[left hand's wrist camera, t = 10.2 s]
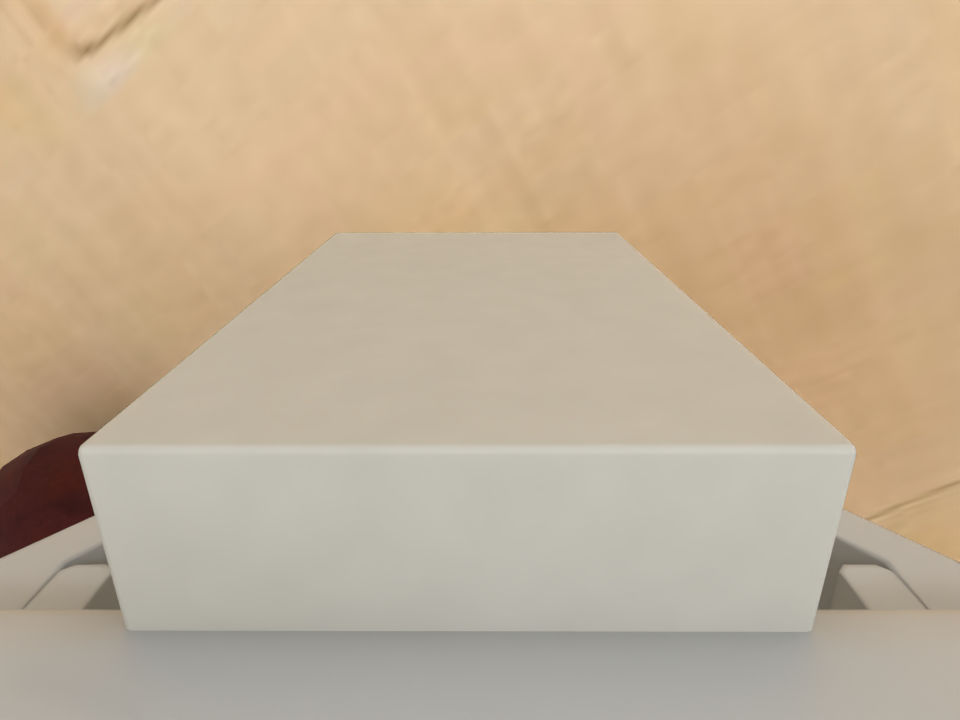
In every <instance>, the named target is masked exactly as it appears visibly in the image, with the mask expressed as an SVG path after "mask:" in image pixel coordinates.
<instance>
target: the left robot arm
mask: <svg viewBox="0 0 960 720" xmlns="http://www.w3.org/2000/svg"><path fill="white" fill-rule="evenodd" d="M0 720H960V563H959V562H957V561H955V560H953V559H951V558H949V557H946V556H944V555H942V554H940V553H938V552H935V551H933V550H931V549H929V548H927V547H925V546H922V545H920V544H918V543H916V542H914V541H912V540H909V539H907V538H905V537H903V536H901V535H899V534H896V533H894V532H892V531H890V530H888V529H886V528H883V527H881V526H879V525H877V524H875V523H873V522H870V521H868V520H866V519H864V518H862V517H859V516H857V515H855V514H853V513H851V512H849V511H846V510H844V509H842V513H841V517H840V521H839V525H838V529H837V533H836V537H835V541H834V545H833V549H832V553H831V556H830V560H829V564H828V568H827V572H826V576H825V580H824V584H823V588H822V592H821V596H820V600H819V604H818V608H817V612H816V616H815V620H814V624H813V628H812V631H809V632H578V631H131V630H128V629H126V627H125V623H124V619H123V616H122V612H121V608H120V605H119V601H118V597H117V594H116V590H115V587H114V583H113V579H112V576H111V572H110V568H109V565H108V561H107V558H106V554H105V550H104V547H103V543H102V539H101V536H100V532H99V529H98V525H97V521H96V518H95V516H93V517H90V518H88V519H86V520H84V521H82V522H79V523H77V524H75V525H73V526H71V527H68V528H66V529H64V530H62V531H60V532H57V533H55V534H53V535H51V536H49V537H46V538H44V539H42V540H40V541H38V542H35V543H33V544H31V545H29V546H27V547H24V548H22V549H20V550H18V551H16V552H13V553H11V554H9V555H7V556H5V557H2V558H0Z"/></svg>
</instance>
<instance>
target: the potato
mask: <svg viewBox="0 0 960 720" xmlns="http://www.w3.org/2000/svg"><path fill="white" fill-rule="evenodd" d="M95 433H96V432H87V433H73V434H69V435H66V436H62V437H59V438H56V439H53V440H51V441H49V442H46V443H44V444H41V445H39V446H37V447H34V448H32V449H29V450H27V451H25V452H24V453H22V454H21V455H19V456H18V457H16V458H15V459H13V460H12V461H10V462H9V463H8V464H6V465H5V466H3V467H2V468H1V470H0V558H2V557H5V556H7V555H9V554H11V553H13V552H16V551H18V550H20V549H22V548H24V547H27V546H29V545H31V544H33V543H35V542H38V541H40V540H42V539H44V538H46V537H49V536H51V535H53V534H55V533H57V532H60V531H62V530H64V529H66V528H68V527H71V526H73V525H75V524H77V523H79V522H82V521H84V520H86V519H88V518H90V517H93V516H95V514H94V510H93V507H92V503H91V500H90V496H89V492H88V489H87V485H86V481H85V478H84V474H83V471H82V467H81V463H80V460H79V456H78V452H79V448H80V446H81V445H82V444H83V443H84V442H85V441H87V440H88V439H89V438H90V437H91V436H93V435H94V434H95Z"/></svg>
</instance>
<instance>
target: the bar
mask: <svg viewBox="0 0 960 720" xmlns="http://www.w3.org/2000/svg"><path fill="white" fill-rule="evenodd" d="M78 456H79V460H80V463H81V467H82V471H83V474H84V478H85V481H86V485H87V489H88V492H89V496H90V500H91V503H92V507H93V510H94V514H95V518H96V521H97V525H98V529H99V532H100V536H101V539H102V543H103V547H104V550H105V554H106V558H107V561H108V565H109V568H110V572H111V576H112V579H113V583H114V587H115V590H116V594H117V597H118V601H119V605H120V608H121V612H122V616H123V619H124V623H125V627H126V629H128V630H131V631H578V632H809V631H812V628H813V624H814V620H815V616H816V612H817V608H818V604H819V600H820V596H821V592H822V588H823V584H824V580H825V576H826V572H827V568H828V564H829V560H830V556H831V553H832V549H833V545H834V541H835V537H836V533H837V529H838V525H839V521H840V517H841V513H842V509H843V505H844V501H845V497H846V493H847V489H848V485H849V481H850V477H851V473H852V469H853V465H854V461H855V457H856V449H855V446H854V445H853V444H852V443H851V442H850V441H849V440H848V439H847V438H846V437H844V436H843V435H842V434H841V433H840V432H839V431H838V430H837V429H835V428H834V427H833V426H832V425H831V424H830V423H829V422H828V421H827V420H825V419H824V418H823V417H822V416H821V415H820V414H819V413H818V412H817V411H815V410H814V409H813V408H812V407H811V406H810V405H809V404H808V403H807V402H805V401H804V400H803V399H802V398H801V397H800V396H799V395H798V394H796V393H795V392H794V391H793V390H792V389H791V388H790V387H789V386H788V385H786V384H785V383H784V382H783V381H782V380H781V379H780V378H779V377H778V376H776V375H775V374H774V373H773V372H772V371H771V370H770V369H769V368H767V367H766V366H765V365H764V364H763V363H762V362H761V361H760V360H759V359H757V358H756V357H755V356H754V355H753V354H752V353H751V352H750V351H749V350H747V349H746V348H745V347H744V346H743V345H742V344H741V343H740V342H738V341H737V340H736V339H735V338H734V337H733V336H732V335H731V334H730V333H728V332H727V331H726V330H725V329H724V328H723V327H722V326H721V325H720V324H718V323H717V322H716V321H715V320H714V319H713V318H712V317H711V316H710V315H708V314H707V313H706V312H705V311H704V310H703V309H702V308H701V307H699V306H698V305H697V304H696V303H695V302H694V301H693V300H692V299H691V298H689V297H688V296H687V295H686V294H685V293H684V292H683V291H682V290H681V289H679V288H678V287H677V286H676V285H675V284H674V283H673V282H672V281H670V280H669V279H668V278H667V277H666V276H665V275H664V274H663V273H662V272H660V271H659V270H658V269H657V268H656V267H655V266H654V265H653V264H652V263H650V262H649V261H648V260H647V259H646V258H645V257H644V256H643V255H641V254H640V253H639V252H638V251H637V250H636V249H635V248H634V247H633V246H631V245H630V244H629V243H628V242H627V241H626V240H625V239H624V238H623V237H621V236H620V235H619V234H618V233H616V232H548V233H336V234H335V235H333V236H332V237H331V238H330V239H329V240H327V241H326V242H325V243H324V244H322V245H321V246H320V247H319V248H318V249H316V250H315V251H314V252H313V253H312V254H310V255H309V256H308V257H307V258H306V259H304V260H303V261H302V262H301V263H300V264H298V265H297V266H296V267H295V268H294V269H292V270H291V271H290V272H289V273H288V274H286V275H285V276H284V277H283V278H282V279H280V280H279V281H278V282H277V283H276V284H274V285H273V286H272V287H271V288H270V289H268V290H267V291H266V292H265V293H264V294H262V295H261V296H260V297H259V298H258V299H256V300H255V301H254V302H253V303H251V304H250V305H249V306H248V307H247V308H245V309H244V310H243V311H242V312H241V313H239V314H238V315H237V316H236V317H235V318H233V319H232V320H231V321H230V322H229V323H227V324H226V325H225V326H224V327H223V328H221V329H220V330H219V331H218V332H217V333H215V334H214V335H213V336H212V337H211V338H209V339H208V340H207V341H206V342H205V343H203V344H202V345H201V346H200V347H199V348H197V349H196V350H195V351H194V352H193V353H191V354H190V355H189V356H188V357H187V358H185V359H184V360H183V361H182V362H180V363H179V364H178V365H177V366H176V367H174V368H173V369H172V370H171V371H170V372H168V373H167V374H166V375H165V376H164V377H162V378H161V379H160V380H159V381H158V382H156V383H155V384H154V385H153V386H152V387H150V388H149V389H148V390H147V391H146V392H144V393H143V394H142V395H141V396H140V397H138V398H137V399H136V400H135V401H134V402H132V403H131V404H130V405H129V406H128V407H126V408H125V409H124V410H123V411H122V412H120V413H119V414H118V415H117V416H116V417H114V418H113V419H112V420H111V421H109V422H108V423H107V424H106V425H105V426H103V427H102V428H101V429H100V430H99V431H97V432H96V433H95V434H94V435H93V436H91V437H90V438H89V439H88V440H87V441H85V442H84V443H83V444H82V445H81V446H80V448H79V452H78Z"/></svg>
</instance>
